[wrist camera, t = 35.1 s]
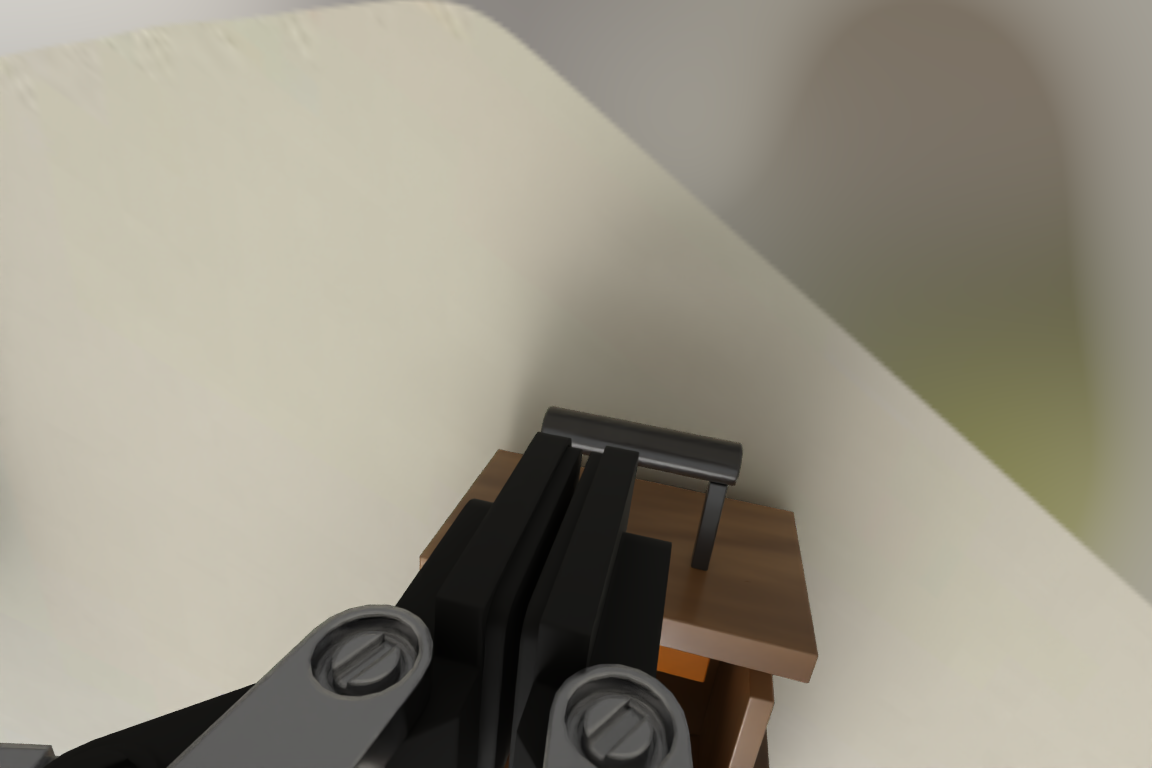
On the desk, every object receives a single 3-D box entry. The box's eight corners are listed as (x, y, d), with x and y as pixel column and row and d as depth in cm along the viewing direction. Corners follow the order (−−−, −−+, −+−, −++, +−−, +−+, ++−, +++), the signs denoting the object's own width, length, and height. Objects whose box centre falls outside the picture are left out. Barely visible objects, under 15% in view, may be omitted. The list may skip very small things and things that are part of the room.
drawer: (504, 346, 26) (419, 425, 19) (825, 404, 23) (867, 520, 16) (484, 668, 33) (417, 813, 26) (727, 735, 31) (727, 914, 24)
